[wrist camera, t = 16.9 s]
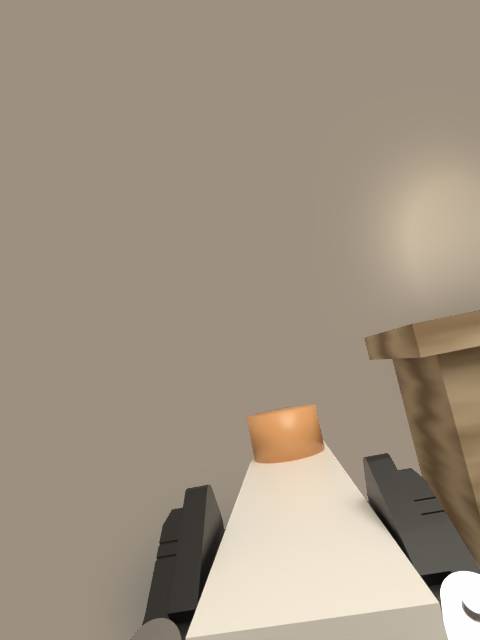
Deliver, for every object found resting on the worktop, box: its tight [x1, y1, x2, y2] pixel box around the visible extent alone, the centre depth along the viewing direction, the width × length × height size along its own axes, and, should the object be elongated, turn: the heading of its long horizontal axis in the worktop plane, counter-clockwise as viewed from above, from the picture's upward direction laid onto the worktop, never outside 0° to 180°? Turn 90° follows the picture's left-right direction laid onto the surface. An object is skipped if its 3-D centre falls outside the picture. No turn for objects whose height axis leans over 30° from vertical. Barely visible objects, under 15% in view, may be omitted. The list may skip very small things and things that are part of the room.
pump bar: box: [185, 404, 449, 640], centre depth 16 cm, size 20×4×6 cm, turn 174°
